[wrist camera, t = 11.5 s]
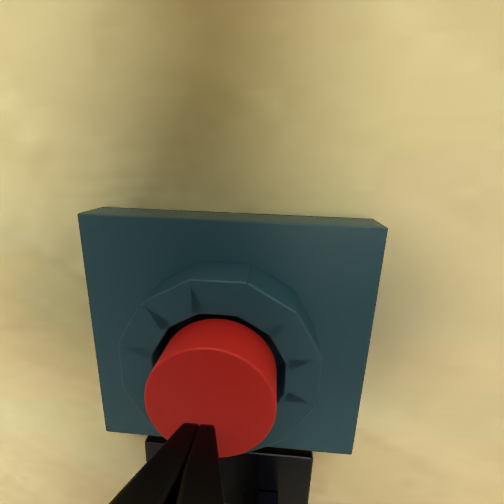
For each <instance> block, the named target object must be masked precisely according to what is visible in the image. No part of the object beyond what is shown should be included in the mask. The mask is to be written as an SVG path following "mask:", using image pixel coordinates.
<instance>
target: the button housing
mask: <svg viewBox="0 0 504 504" xmlns="http://www.w3.org/2000/svg"><path fill="white" fill-rule="evenodd" d="M78 221H79V228H80V236H81V243H82V251H83V258H84V266H85V273H86V281H87V289H88V296H89V304H90V311H91V319H92V326H93V334H94V341H95V349H96V356H97V364H98V372H99V379H100V387H101V394H102V402H103V409H104V417H105V424H106V431H110V432H120V433H131V434H141V435H152V436H162V435H161V434H160V433H159V432H158V431H157V429H156V428H155V427H154V425H153V424H152V422H151V420H150V418H149V416H148V414H147V411H146V407H145V401H144V391H145V385H146V382H147V379H148V377H149V375H150V373H151V371H152V369H153V368H154V366H155V364H156V363H157V361H158V359H159V358H160V356H161V354H162V353H163V351H164V349H165V348H166V346H167V344H168V343H169V341H170V340H171V338H172V337H173V336H174V335H175V334H176V333H177V332H178V331H179V330H181V329H182V328H183V327H185V326H187V325H189V324H191V323H193V322H196V321H200V320H204V319H227V320H231V321H235V322H238V323H240V324H243V325H245V326H247V327H249V328H250V329H252V330H253V331H255V332H256V333H257V334H258V335H259V336H260V337H261V338H262V339H263V340H264V341H265V342H266V343H267V345H268V346H269V348H270V349H271V351H272V353H273V355H274V359H275V362H276V367H277V411H276V418H275V421H274V424H273V426H272V428H271V430H270V432H269V433H268V435H267V436H266V437H265V439H264V440H263V441H262V442H261V443H259V444H258V445H257V446H255V447H254V448H252V449H251V450H249V451H247V452H244V453H242V454H246V453H249V452H252V451H255V450H257V449H260V448H263V447H266V446H267V447H277V448H288V449H298V450H309V451H319V452H329V453H340V454H350V455H351V454H352V448H353V442H354V436H355V430H356V424H357V417H358V411H359V405H360V399H361V393H362V386H363V380H364V374H365V368H366V362H367V355H368V349H369V343H370V337H371V330H372V324H373V318H374V312H375V306H376V299H377V293H378V287H379V281H380V275H381V268H382V262H383V256H384V250H385V244H386V237H387V231H388V228H387V227H385V226H384V225H382V224H380V223H379V222H377V221H375V220H374V219H361V218H338V217H316V216H293V215H270V214H248V213H225V212H202V211H180V210H157V209H134V208H112V207H102V208H98V209H94V210H90V211H86V212H82V213H79V214H78ZM162 437H163V436H162Z"/></svg>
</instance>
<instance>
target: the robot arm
mask: <svg viewBox="0 0 504 504" xmlns="http://www.w3.org/2000/svg"><path fill="white" fill-rule="evenodd" d="M109 504H225V498H224V490H223V483H222V476H221V468H220V461H219V454H218V446H217V439H216V432H215V427H214V425H208V424H200V425H198V424H197V423H183V424H182V425H181V426H180V427H179V428H178V429H177V430H176V431H175V432H174V434H173V435H172V436H171V437H170V438H169V439H168V440H167V441H166V442H165V443H164V444H163V446H162V447H161V448H160V449H159V450H158V451H157V452H156V453H155V454H154V455H153V456H152V457H151V459H150V460H149V461H148V462H147V463H146V464H145V465H144V466H143V467H142V468H141V469H140V470H139V472H138V473H137V474H136V475H135V476H134V477H133V478H132V479H131V480H130V481H129V482H128V484H127V485H126V486H125V487H124V488H123V489H122V490H121V491H120V492H119V493H118V494H117V495H116V497H115V498H114V499H113V500H112V501H111V502H110V503H109Z"/></svg>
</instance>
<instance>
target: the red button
mask: <svg viewBox="0 0 504 504" xmlns="http://www.w3.org/2000/svg"><path fill="white" fill-rule="evenodd" d="M144 401H145V407H146V411H147V414H148V416H149V418H150V420H151V422H152V424H153V425H154V427H155V428H156V429H157V431H158V432H159V433H160V434H161V435H162V436H163V437H164V438H165V439H166V440H168V439H169V438H170V437H171V436H172V435H173V434H174V432H175V431H176V430H177V429H178V428H179V427H180V426H181V425H182V424H183V423H197V424H198V425H200V424H208V425H214V427H215V432H216V439H217V446H218V454H219V458H221V457H230V456H235V455H239V454H242V453H244V452H247V451H249V450H251V449H252V448H254V447H255V446H257V445H258V444H259V443H261V442H262V441H263V440H264V439H265V437H266V436H267V435H268V433H269V432H270V430H271V428H272V426H273V424H274V421H275V418H276V411H277V367H276V362H275V359H274V355H273V353H272V351H271V349H270V348H269V346H268V345H267V343H266V342H265V341H264V340H263V339H262V338H261V337H260V336H259V335H258V334H257V333H256V332H255V331H253V330H252V329H250V328H249V327H247V326H245V325H243V324H240V323H238V322H235V321H231V320H227V319H204V320H200V321H196V322H193V323H191V324H189V325H187V326H185V327H183V328H182V329H181V330H179V331H178V332H177V333H176V334H175V335H174V336H173V337H172V338H171V340H170V341H169V343H168V344H167V346H166V348H165V349H164V351H163V353H162V354H161V356H160V358H159V359H158V361H157V363H156V364H155V366H154V368H153V369H152V371H151V373H150V375H149V377H148V379H147V382H146V385H145V391H144Z"/></svg>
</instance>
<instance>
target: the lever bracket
mask: <svg viewBox="0 0 504 504" xmlns="http://www.w3.org/2000/svg"><path fill="white" fill-rule="evenodd" d="M166 441H167V440H166V439H165V438H164V437H162V436H152V435H148V437H147V439H146V441H145V449H146V460H147V462H148V461H149V460H150V459H151V457H152V456H153V455H154V454H155V453H156V452H157V451H158V450H159V449H160V448H161V447H162V446H163V444H164V443H165V442H166ZM219 461H220V468H221V476H222V483H223V490H224V498H225V504H308V498H309V489H310V480H311V472H312V463H313V454H312V451H309V450H298V449H288V448H277V447H267V446H266V447H263V448H260V449H257V450H255V451H252V452H249V453H246V454H239V455H235V456H230V457H221V458H219Z"/></svg>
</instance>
